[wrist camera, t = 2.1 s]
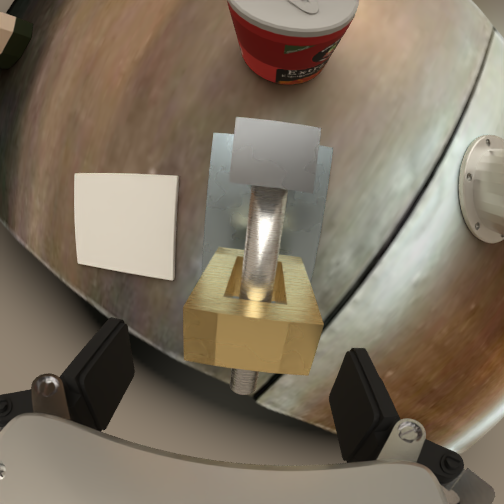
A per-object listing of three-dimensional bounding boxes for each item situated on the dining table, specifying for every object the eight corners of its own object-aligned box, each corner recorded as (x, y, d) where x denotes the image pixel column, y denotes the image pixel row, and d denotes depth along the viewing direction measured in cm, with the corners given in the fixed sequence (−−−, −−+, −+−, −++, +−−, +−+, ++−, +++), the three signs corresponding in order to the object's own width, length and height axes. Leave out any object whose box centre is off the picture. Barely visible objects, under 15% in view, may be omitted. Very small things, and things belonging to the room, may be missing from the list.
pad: (179, 176, 24) (177, 176, 23) (174, 278, 27) (173, 280, 26) (78, 173, 24) (74, 173, 23) (80, 261, 27) (77, 263, 26)
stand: (329, 148, 22) (408, 130, 8) (301, 312, 27) (322, 428, 13) (216, 134, 22) (148, 96, 9) (202, 300, 27) (154, 408, 13)
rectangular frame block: (301, 257, 20) (323, 324, 11) (294, 294, 21) (308, 375, 12) (218, 246, 20) (183, 307, 11) (215, 284, 21) (184, 359, 12)
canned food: (285, 103, 21) (297, 56, 11) (222, 49, 20) (194, -16, 9) (343, 57, 19) (386, 1, 9) (281, 7, 18) (287, -64, 7)
